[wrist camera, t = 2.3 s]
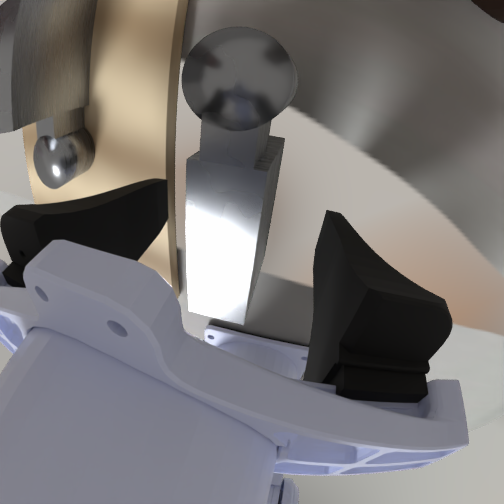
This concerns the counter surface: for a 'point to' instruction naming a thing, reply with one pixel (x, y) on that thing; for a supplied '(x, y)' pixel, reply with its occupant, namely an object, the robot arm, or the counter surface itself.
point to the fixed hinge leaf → (48, 81)
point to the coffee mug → (492, 8)
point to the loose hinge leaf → (232, 164)
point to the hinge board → (130, 112)
